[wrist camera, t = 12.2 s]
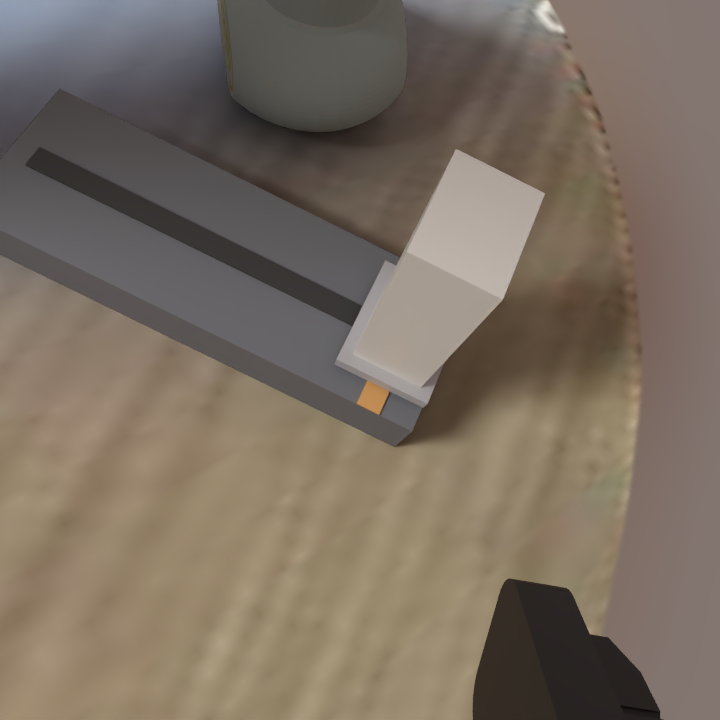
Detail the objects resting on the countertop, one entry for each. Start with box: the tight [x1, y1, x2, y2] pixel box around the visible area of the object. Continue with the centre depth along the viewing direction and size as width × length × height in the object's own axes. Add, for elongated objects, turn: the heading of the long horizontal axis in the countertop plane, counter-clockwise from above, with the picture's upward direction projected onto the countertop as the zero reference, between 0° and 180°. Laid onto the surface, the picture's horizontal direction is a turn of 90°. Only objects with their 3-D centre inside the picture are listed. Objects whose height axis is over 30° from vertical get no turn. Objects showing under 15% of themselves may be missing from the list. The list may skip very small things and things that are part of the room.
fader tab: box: [334, 149, 545, 408], centre depth 23 cm, size 4×5×9 cm
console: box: [0, 89, 422, 447], centre depth 29 cm, size 20×7×3 cm, turn 66°
